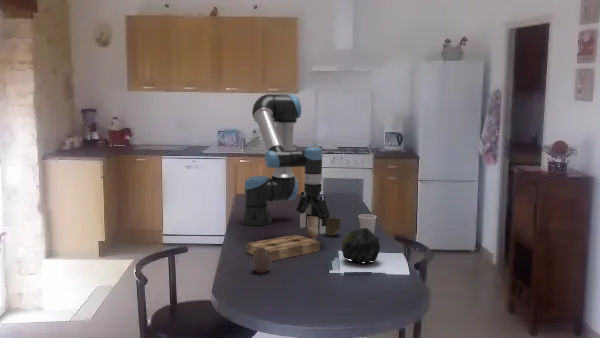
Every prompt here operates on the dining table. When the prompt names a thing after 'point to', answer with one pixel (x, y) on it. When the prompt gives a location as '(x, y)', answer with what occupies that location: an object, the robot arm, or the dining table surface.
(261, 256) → the vase
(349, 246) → the squash
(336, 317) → the dining table surface
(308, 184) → the robot arm
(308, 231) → the beech peg
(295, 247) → the oak board
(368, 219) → the dixie cup
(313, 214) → the milk frother
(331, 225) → the wire cup brush
